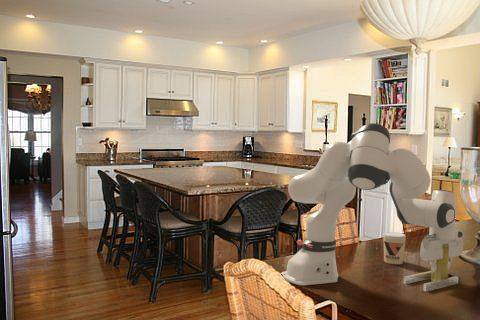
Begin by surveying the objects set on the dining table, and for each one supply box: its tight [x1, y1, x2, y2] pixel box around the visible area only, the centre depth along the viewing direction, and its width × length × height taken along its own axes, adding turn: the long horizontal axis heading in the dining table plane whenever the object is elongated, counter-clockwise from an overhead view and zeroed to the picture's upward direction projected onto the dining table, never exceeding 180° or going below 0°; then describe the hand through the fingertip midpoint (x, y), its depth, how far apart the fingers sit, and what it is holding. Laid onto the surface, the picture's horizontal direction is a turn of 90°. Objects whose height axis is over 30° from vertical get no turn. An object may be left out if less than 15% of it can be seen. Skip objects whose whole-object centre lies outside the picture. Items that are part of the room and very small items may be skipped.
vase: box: [430, 244, 449, 282], centre depth 160 cm, size 6×6×14 cm
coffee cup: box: [382, 231, 407, 265], centre depth 185 cm, size 9×9×12 cm
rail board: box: [403, 270, 462, 292], centre depth 158 cm, size 20×10×2 cm, turn 119°
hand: (440, 269), depth 160 cm, fingers open, 6 cm apart
